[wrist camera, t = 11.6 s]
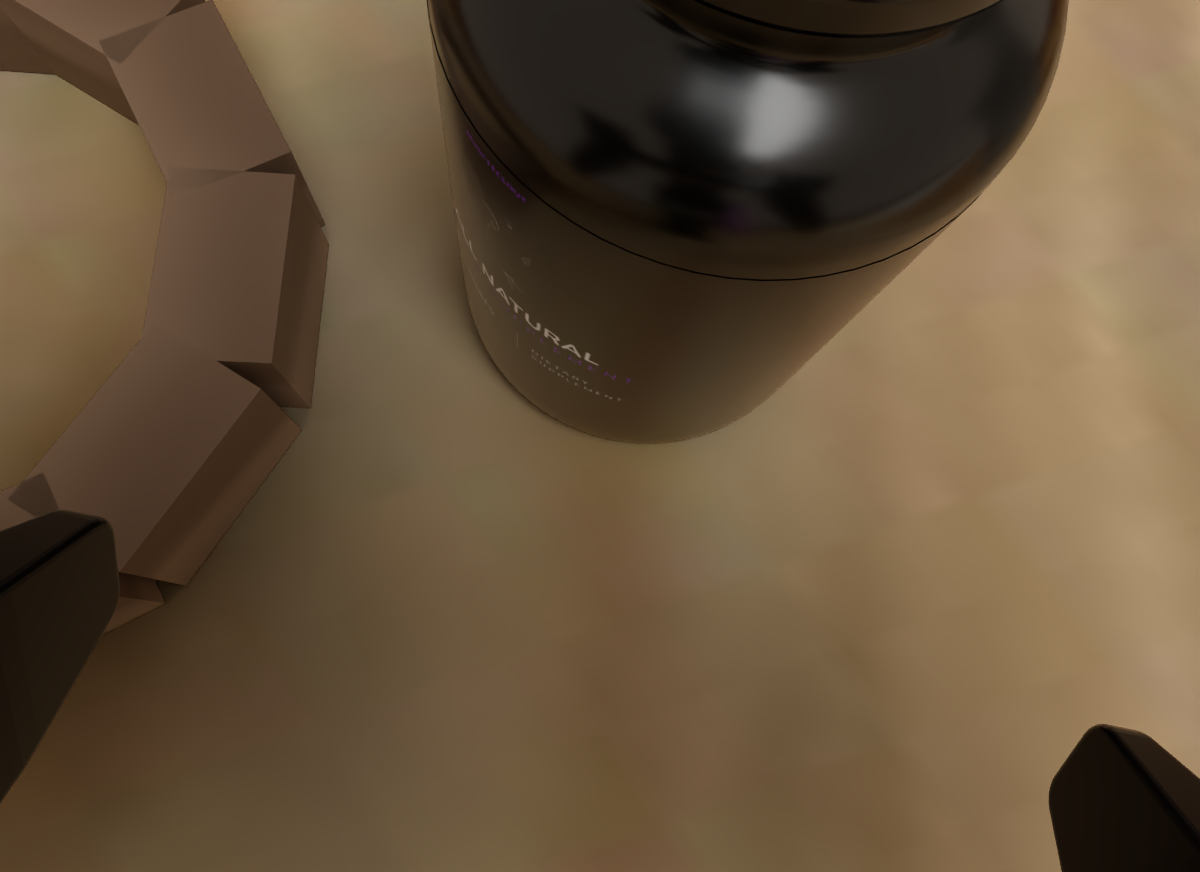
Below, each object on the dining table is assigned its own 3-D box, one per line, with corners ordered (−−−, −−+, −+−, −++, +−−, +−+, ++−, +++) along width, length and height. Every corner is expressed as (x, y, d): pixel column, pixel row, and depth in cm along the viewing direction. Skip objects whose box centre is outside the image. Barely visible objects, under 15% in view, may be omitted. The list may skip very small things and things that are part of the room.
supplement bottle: (424, 406, 16) (159, -257, 4) (515, 99, 18) (500, -952, 6) (780, 493, 16) (1438, 80, 5) (834, 181, 18) (1407, -690, 6)
